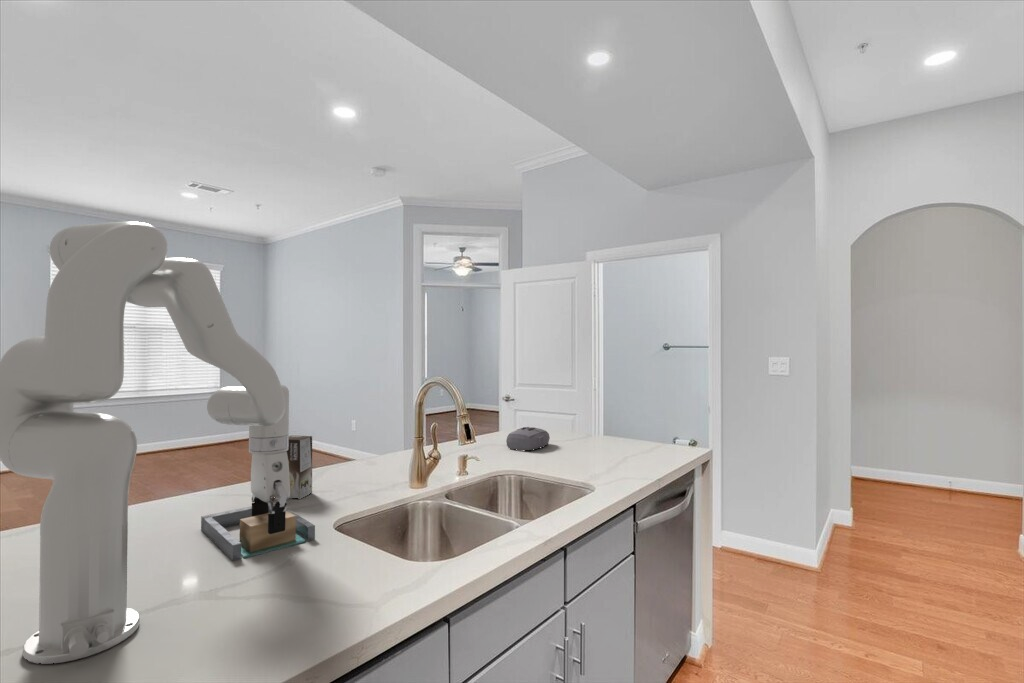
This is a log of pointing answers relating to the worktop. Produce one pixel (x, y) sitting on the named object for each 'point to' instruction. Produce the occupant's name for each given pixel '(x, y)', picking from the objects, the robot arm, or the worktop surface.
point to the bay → (218, 521)
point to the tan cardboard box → (265, 532)
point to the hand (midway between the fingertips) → (268, 526)
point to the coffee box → (300, 465)
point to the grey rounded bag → (527, 438)
